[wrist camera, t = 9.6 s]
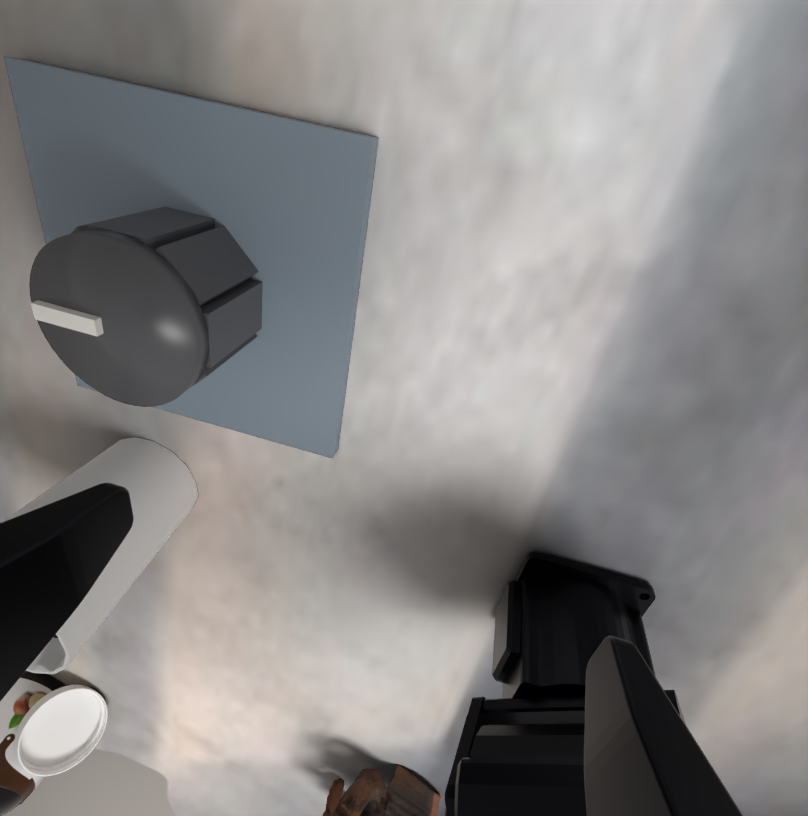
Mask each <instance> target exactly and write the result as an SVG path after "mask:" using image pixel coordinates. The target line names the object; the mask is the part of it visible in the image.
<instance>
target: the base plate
mask: <svg viewBox="0 0 808 816" xmlns="http://www.w3.org/2000/svg"><path fill="white" fill-rule="evenodd" d="M4 59H5V63H6V68H7V72H8V77H9V81H10V86H11V90H12V95H13V99H14V104H15V108H16V113H17V117H18V121H19V126H20V130H21V135H22V139H23V144H24V148H25V153H26V157H27V162H28V166H29V171H30V175H31V180H32V184H33V189H34V193H35V198H36V202H37V206H38V211H39V215H40V220H41V224H42V229H43V233H44V238H45V242H46V244H48V243H49V242H51V241H52V240H54V239H56V238H59V237H62V236H64V235H68V234H71V233H72V232H73V231H74V230H75V228H76V227H77V226H82V225H86V224H90V223H94V222H99V221H103V220H108V219H112V218H117V217H121V216H125V215H130V214H134V213H139V212H143V211H148V210H152V209H156V208H161V207H165V206H166V207H170V208H174V209H178V210H182V211H186V212H190V213H194V214H198V215H202V216H206V217H210V218H214V219H215V228H218V227H221V226H225V227H226V228H227V230H228V231H229V232H230V234H231V235H232V236H233V238H234V239H235V240H236V242H237V243H238V244H239V246H240V247H241V248H242V250H243V251H244V252H245V254H246V255H247V256H248V258H249V259H250V260H251V261H252V263H253V264H254V265H255V267H256V268H257V269H258V271H259V272H258V273H256V274H255V275H254V276H252V277H251V278H250V279H253V280H257V281H261V282H263V287H262V329H261V330H259V331H258V332H257V333H256V334H257V336H258V337H256V338H255V339H254V340H252V341H251V342H250V343H249V344H247V345H246V346H245V347H244V348H242V349H241V350H240V351H238V352H237V353H236V354H235V355H233V356H232V357H231V358H230V359H228V360H227V361H226V362H225V363H223V364H222V365H221V366H219V367H218V368H217V369H216V370H214V371H213V372H212V373H211V374H209V375H208V376H207V377H205V378H204V379H202V380H201V381H199V382H198V383H197V384H195V385H194V386H192V387H191V388H189V389H188V390H187V391H185V392H184V393H183V394H182V395H180V396H179V397H178V398H176V399H175V400H173V401H171V402H169V403H166V404H163V405H159V406H153V407H154V408H158V409H161V410H165V411H168V412H172V413H175V414H179V415H182V416H186V417H189V418H193V419H196V420H200V421H203V422H207V423H210V424H214V425H217V426H221V427H224V428H228V429H231V430H235V431H238V432H242V433H245V434H249V435H252V436H256V437H259V438H263V439H266V440H270V441H273V442H277V443H280V444H284V445H287V446H291V447H294V448H298V449H301V450H305V451H308V452H312V453H315V454H319V455H322V456H326V457H329V458H333V457H334V456H335V454H336V452H337V450H338V447H339V439H340V431H341V424H342V416H343V408H344V401H345V393H346V385H347V377H348V370H349V362H350V354H351V347H352V339H353V331H354V324H355V316H356V308H357V300H358V293H359V285H360V277H361V270H362V262H363V254H364V246H365V239H366V231H367V223H368V216H369V208H370V200H371V193H372V185H373V177H374V169H375V162H376V154H377V146H378V139H379V138H378V137H374V136H369V135H365V134H360V133H356V132H351V131H347V130H342V129H338V128H333V127H328V126H324V125H319V124H315V123H310V122H306V121H301V120H297V119H292V118H288V117H283V116H278V115H274V114H269V113H265V112H260V111H256V110H251V109H247V108H242V107H238V106H233V105H229V104H224V103H219V102H215V101H210V100H206V99H201V98H197V97H192V96H188V95H183V94H179V93H174V92H169V91H165V90H160V89H156V88H151V87H147V86H142V85H138V84H133V83H129V82H124V81H120V80H115V79H110V78H106V77H101V76H97V75H92V74H88V73H83V72H79V71H74V70H70V69H65V68H61V67H56V66H51V65H47V64H42V63H38V62H33V61H29V60H24V59H17V58H9V57H4ZM75 376H76V381H77V385H78V386H81V387H84V388H88V389H91V390H95V389H94V388H92V387H91V386H89V385H88V384H86V383H85V382H84V381H83V380H81V379H80V378H79V377H78V376H77V375H75ZM95 391H97V390H95Z"/></svg>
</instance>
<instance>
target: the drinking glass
mask: <svg viewBox="0 0 808 816" xmlns="http://www.w3.org/2000/svg"><path fill="white" fill-rule="evenodd" d="M101 483H112V484H115V485H119V486H122V487H125V488H126V489H127V490H128V491H129V494H130V500H131V505H132V511H133V516H134V520H133V525H132V527H131V529H130V531H129V533H128V534H127V536H126V537H125V539H124V540H123V542H122V543H121V545H120V546H119V548H118V549H117V551H116V552H115V554H114V555H113V557H112V558H111V560H110V561H109V563H108V564H107V566H106V567H105V569H104V570H103V571H102V573H101V574H100V576H99V577H98V579H97V580H96V582H95V583H94V585H93V586H92V588H91V589H90V591H89V592H88V594H87V595H86V596H85V598H84V599H83V601H82V602H81V603H80V605H79V606H78V607H77V608H76V610H75V611H74V612H73V613H72V615H71V616H70V617H69V618H68V620H67V621H66V622H65V623H64V625H63V626H62V627H61V628H60V629H59V631H58V632H57V633H56V634H55V635H54V637H53V638H52V639H51V640H50V642H49V643H48V644H47V645H46V646H45V648H44V649H43V650H42V651H41V653H40V654H39V655H38V656H37V657H36V659H35V660H34V661H33V662H32V664H31V665H30V666H29V667H28V668H27V670H26V671H29V672H32V673H41V674H55V673H58V672H60V671H62V670H64V669H66V668H67V667H68V666H69V664H70V663H71V662H72V661H73V659H74V658H75V657H76V656H77V654H78V653H79V652H80V650H81V649H82V648H83V647H84V645H85V644H86V643H87V642H88V640H89V639H90V638H91V636H92V635H93V634H94V633H95V631H96V630H97V629H98V628H99V626H100V625H101V624H102V622H103V621H104V620H105V619H106V617H107V616H108V615H109V614H110V612H111V611H112V610H113V608H114V607H115V606H116V605H117V603H118V602H119V601H120V600H121V598H122V597H123V596H124V594H125V593H126V592H127V591H128V589H129V588H130V587H131V586H132V584H133V583H134V582H135V580H136V579H137V578H138V577H139V575H140V574H141V573H142V572H143V570H144V569H145V568H146V566H147V565H148V564H149V563H150V561H151V560H152V559H153V558H154V556H155V555H156V554H157V552H158V551H159V550H160V549H161V547H162V546H163V545H164V544H165V542H166V541H167V540H168V538H169V537H170V536H171V535H172V533H173V532H174V531H175V530H176V528H177V527H178V526H179V524H180V523H181V522H182V521H183V519H184V518H185V517H186V516H187V514H188V513H189V512H190V510H191V509H192V508H193V507H194V504H195V502H196V499H197V497H198V493H197V487H196V481H195V479H194V478H193V476H192V474H191V473H190V471H189V469H188V467H187V466H186V465H185V464H184V463H183V462H182V461H181V460H180V459H179V458H178V457H177V456H176V455H175V454H174V453H173V452H172V451H170V450H168V449H166V448H165V447H163V446H161V445H159V444H157V443H156V442H154V441H150V440H146V439H141V438H137V437H133V438H127V439H120V440H119V441H118V442H116V443H115V444H114V445H112V446H111V447H109V448H108V449H106V450H105V451H104V452H102V453H101V454H99V455H98V456H96V457H95V458H93V459H92V460H91V461H89V462H88V463H86V464H85V465H83V466H82V467H81V468H79V469H78V470H76V471H75V472H73V473H72V474H71V475H69V476H68V477H66V478H65V479H63V480H62V481H60V482H59V483H58V484H56V485H55V486H53V487H52V488H50V489H49V490H48V491H46V492H45V493H43V494H42V495H40V496H39V497H38V498H36V499H35V500H33V501H32V502H30V503H29V504H27V505H26V506H25V507H23V508H22V509H20V510H19V511H17V512H16V513H15V514H13V515H12V516H10V517H9V518H7V519H6V520H4V521H3V522H5V521H7V520H10V519H12V518H15V517H17V516H20V515H22V514H25V513H27V512H30V511H32V510H35V509H38V508H40V507H43V506H45V505H48V504H50V503H53V502H55V501H58V500H60V499H63V498H65V497H68V496H70V495H73V494H76V493H78V492H81V491H83V490H86V489H88V488H91V487H93V486H96V485H98V484H101Z"/></svg>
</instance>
